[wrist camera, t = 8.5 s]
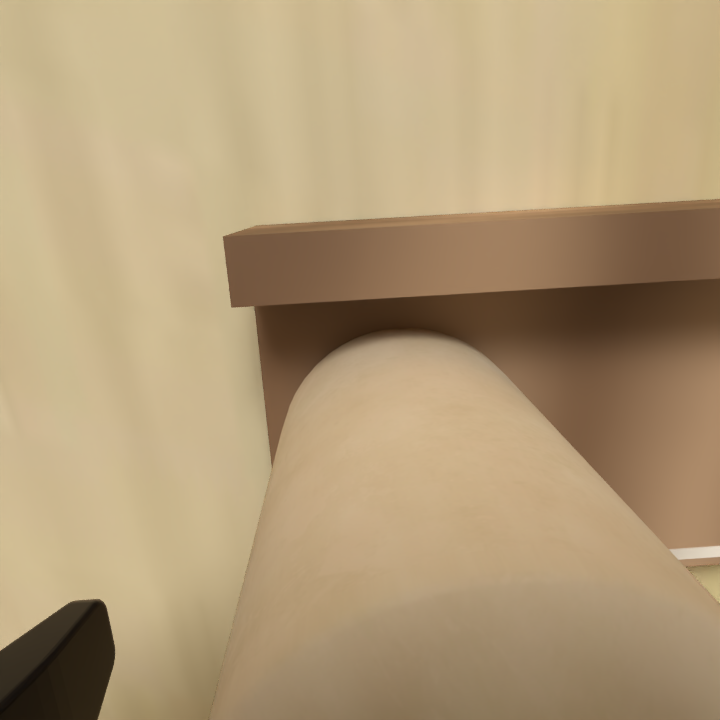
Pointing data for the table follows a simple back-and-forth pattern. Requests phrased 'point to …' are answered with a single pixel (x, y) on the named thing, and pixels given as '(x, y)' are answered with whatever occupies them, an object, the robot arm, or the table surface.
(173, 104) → the table surface
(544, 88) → the table surface
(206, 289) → the table surface
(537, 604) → the candle
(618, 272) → the board
